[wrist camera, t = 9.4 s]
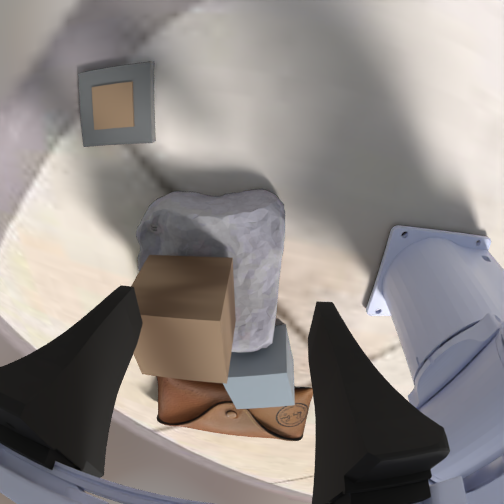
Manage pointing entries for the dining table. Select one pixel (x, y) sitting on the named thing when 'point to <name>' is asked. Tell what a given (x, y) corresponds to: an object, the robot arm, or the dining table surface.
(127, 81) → the tile
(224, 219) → the stone block
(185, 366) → the walnut cube
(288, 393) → the blue-grey cube
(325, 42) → the dining table surface
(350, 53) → the dining table surface
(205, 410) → the sunglasses case
